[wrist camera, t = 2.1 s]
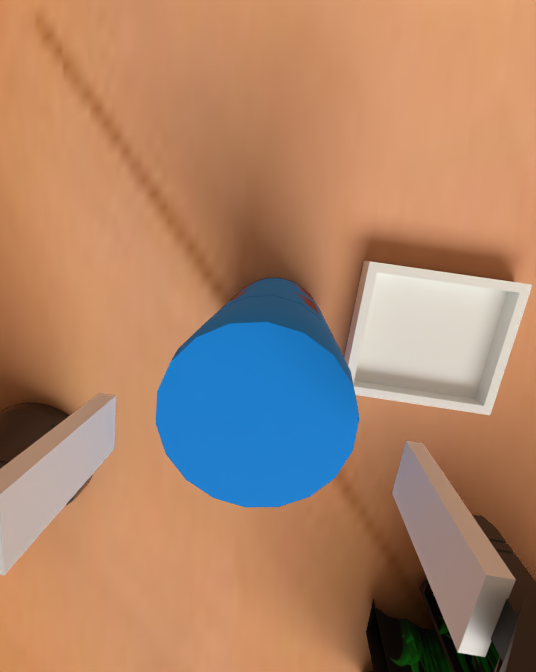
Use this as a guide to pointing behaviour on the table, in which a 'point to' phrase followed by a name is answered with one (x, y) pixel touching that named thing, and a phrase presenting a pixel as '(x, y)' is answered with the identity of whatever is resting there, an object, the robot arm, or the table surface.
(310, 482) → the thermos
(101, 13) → the table surface
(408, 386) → the tray
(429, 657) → the decorative plant
